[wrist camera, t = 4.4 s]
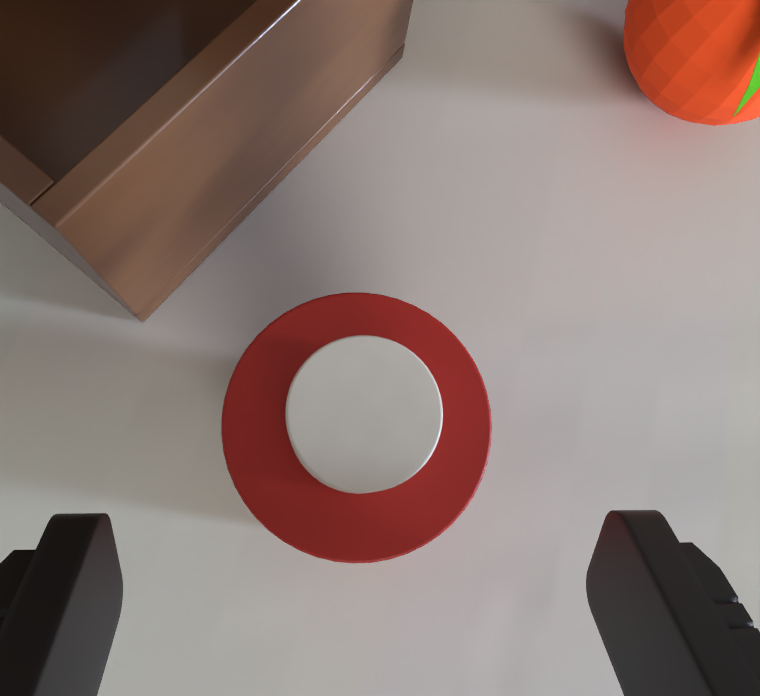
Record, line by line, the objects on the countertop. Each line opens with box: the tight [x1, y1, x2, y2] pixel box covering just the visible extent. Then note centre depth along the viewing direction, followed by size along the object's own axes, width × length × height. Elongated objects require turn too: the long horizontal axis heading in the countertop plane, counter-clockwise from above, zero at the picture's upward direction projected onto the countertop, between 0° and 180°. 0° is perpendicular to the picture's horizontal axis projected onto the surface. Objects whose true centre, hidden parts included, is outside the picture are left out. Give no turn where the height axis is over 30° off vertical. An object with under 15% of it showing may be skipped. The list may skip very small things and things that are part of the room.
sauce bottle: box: [221, 293, 492, 563], centre depth 16 cm, size 5×5×11 cm
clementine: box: [624, 0, 760, 126], centre depth 23 cm, size 8×7×7 cm
